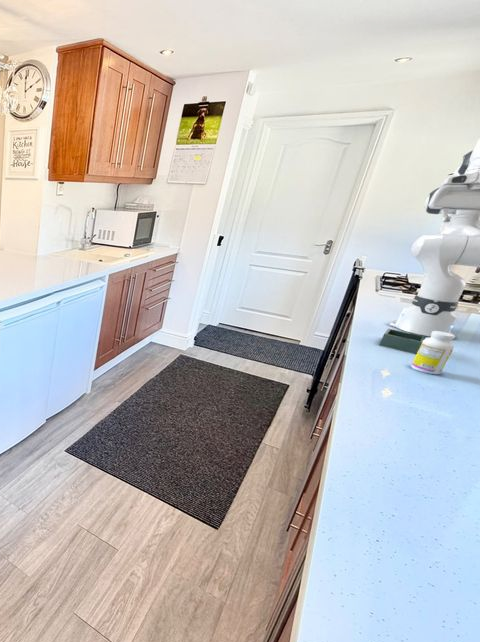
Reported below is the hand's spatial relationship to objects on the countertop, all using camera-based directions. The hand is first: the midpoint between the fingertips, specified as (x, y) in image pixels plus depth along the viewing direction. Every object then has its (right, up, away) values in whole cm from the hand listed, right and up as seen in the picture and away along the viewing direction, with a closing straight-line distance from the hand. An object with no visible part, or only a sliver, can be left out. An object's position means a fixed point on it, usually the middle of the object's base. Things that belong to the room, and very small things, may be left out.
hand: (466, 223), depth 136 cm
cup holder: (-9, -42, +13) cm, 45 cm away
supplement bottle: (-22, -50, -6) cm, 54 cm away
